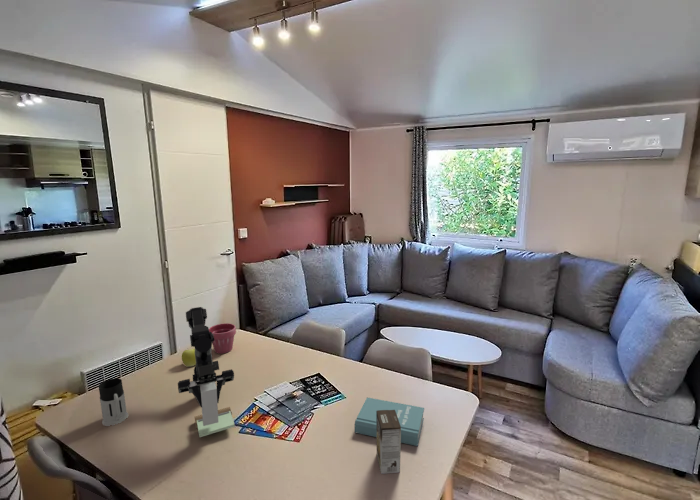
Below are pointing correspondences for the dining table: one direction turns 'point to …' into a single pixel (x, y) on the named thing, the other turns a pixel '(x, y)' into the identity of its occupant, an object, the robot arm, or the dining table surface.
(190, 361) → the apple
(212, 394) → the block
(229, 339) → the plant pot
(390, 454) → the coffee box
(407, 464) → the dining table surface
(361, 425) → the book
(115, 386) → the glass holder
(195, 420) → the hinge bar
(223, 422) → the trapdoor
